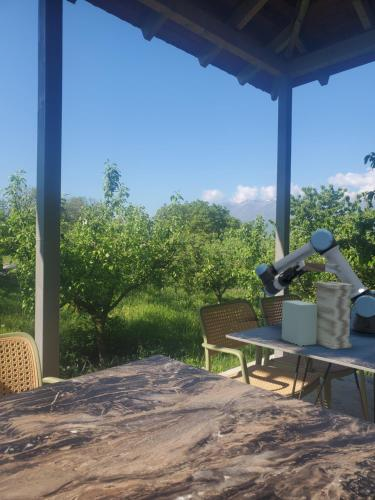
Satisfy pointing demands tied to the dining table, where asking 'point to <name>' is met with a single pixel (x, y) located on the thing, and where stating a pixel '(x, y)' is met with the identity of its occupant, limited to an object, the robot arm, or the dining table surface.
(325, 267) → the brown grey bar
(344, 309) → the tall stand
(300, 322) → the block
